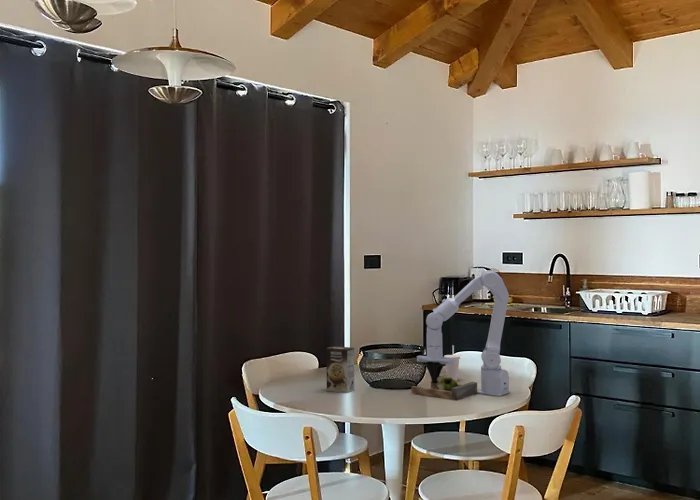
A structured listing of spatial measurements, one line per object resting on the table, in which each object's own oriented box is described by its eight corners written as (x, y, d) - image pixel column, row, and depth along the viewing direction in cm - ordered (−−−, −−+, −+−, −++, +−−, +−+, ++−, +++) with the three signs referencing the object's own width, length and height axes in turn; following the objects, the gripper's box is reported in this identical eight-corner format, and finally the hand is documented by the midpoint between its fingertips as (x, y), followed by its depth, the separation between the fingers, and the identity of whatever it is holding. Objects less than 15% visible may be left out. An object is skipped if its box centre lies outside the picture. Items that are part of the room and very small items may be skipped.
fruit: (454, 400, 241) (450, 378, 240) (432, 399, 247) (427, 378, 246) (466, 391, 248) (462, 369, 247) (444, 390, 254) (440, 369, 253)
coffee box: (325, 391, 255) (325, 347, 255) (334, 388, 260) (333, 345, 260) (347, 393, 250) (346, 349, 250) (355, 389, 256) (354, 346, 256)
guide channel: (477, 393, 246) (477, 382, 246) (456, 400, 235) (456, 388, 235) (433, 387, 258) (432, 376, 258) (411, 393, 248) (411, 382, 248)
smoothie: (455, 382, 267) (455, 346, 267) (441, 380, 271) (440, 345, 271) (463, 379, 272) (462, 344, 272) (449, 378, 276) (448, 343, 276)
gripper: (411, 345, 251) (412, 382, 251) (445, 348, 242) (446, 386, 242) (422, 343, 257) (423, 379, 257) (456, 346, 247) (456, 383, 247)
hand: (435, 382), depth 249 cm, fingers closed
